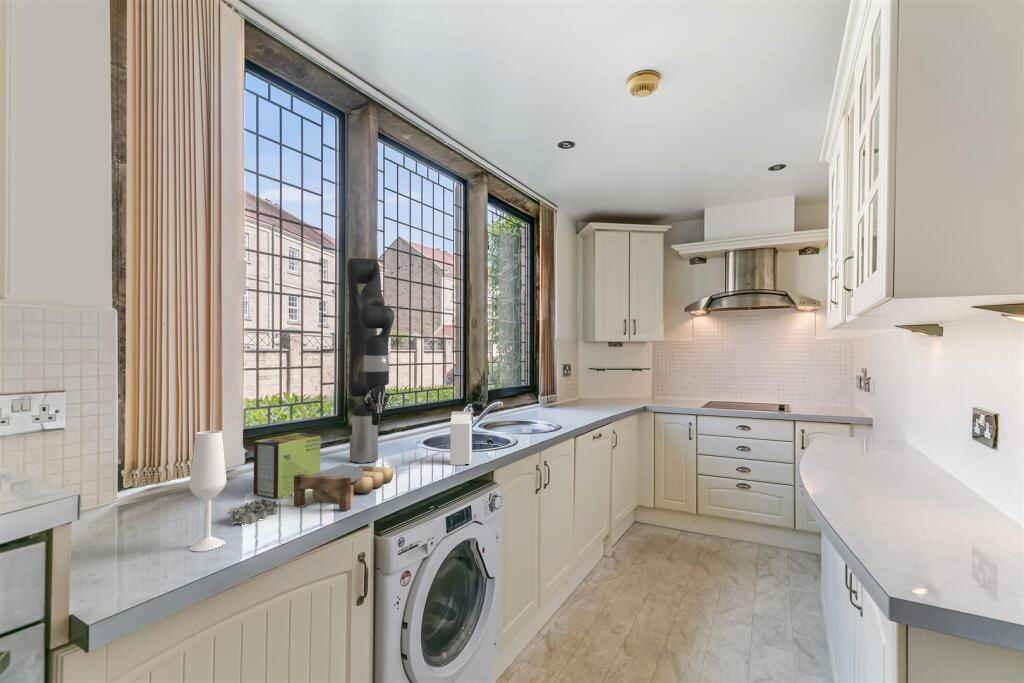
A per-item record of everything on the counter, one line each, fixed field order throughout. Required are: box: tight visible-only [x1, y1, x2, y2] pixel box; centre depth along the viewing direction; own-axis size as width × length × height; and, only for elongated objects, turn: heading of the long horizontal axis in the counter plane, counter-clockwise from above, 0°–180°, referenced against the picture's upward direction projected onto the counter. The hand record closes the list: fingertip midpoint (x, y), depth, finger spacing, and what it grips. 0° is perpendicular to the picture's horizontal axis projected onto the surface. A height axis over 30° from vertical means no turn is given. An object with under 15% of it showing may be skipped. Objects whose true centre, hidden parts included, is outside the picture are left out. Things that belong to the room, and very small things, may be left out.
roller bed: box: [351, 465, 394, 494], centre depth 146 cm, size 11×16×4 cm, turn 166°
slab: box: [312, 464, 363, 492], centre depth 135 cm, size 8×13×3 cm, turn 152°
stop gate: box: [293, 474, 352, 512], centre depth 127 cm, size 16×2×8 cm, turn 76°
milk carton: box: [449, 410, 473, 466], centre depth 177 cm, size 7×7×19 cm
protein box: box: [253, 432, 321, 500], centre depth 143 cm, size 10×15×16 cm
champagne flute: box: [188, 429, 227, 552], centre depth 102 cm, size 7×7×24 cm
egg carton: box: [226, 496, 281, 525], centre depth 119 cm, size 11×8×4 cm
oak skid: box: [312, 485, 354, 504], centre depth 134 cm, size 11×4×4 cm, turn 70°
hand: (376, 424), depth 151 cm, fingers closed
